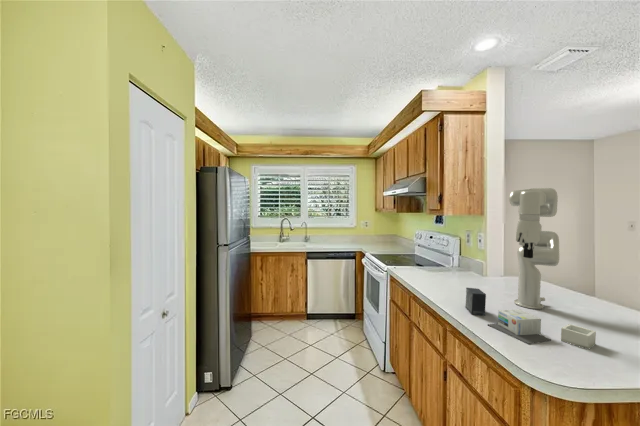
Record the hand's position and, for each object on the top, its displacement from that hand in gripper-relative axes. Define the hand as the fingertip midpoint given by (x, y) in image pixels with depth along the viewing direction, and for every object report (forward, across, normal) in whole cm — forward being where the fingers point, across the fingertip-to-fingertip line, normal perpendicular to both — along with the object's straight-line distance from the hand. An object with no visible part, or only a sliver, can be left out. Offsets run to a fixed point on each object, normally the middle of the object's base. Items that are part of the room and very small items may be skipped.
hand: (528, 257), depth 133 cm
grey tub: (+28, +5, +23) cm, 37 cm away
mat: (+28, +19, +9) cm, 35 cm away
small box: (+29, +15, -14) cm, 36 cm away
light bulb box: (+24, +11, +9) cm, 28 cm away
